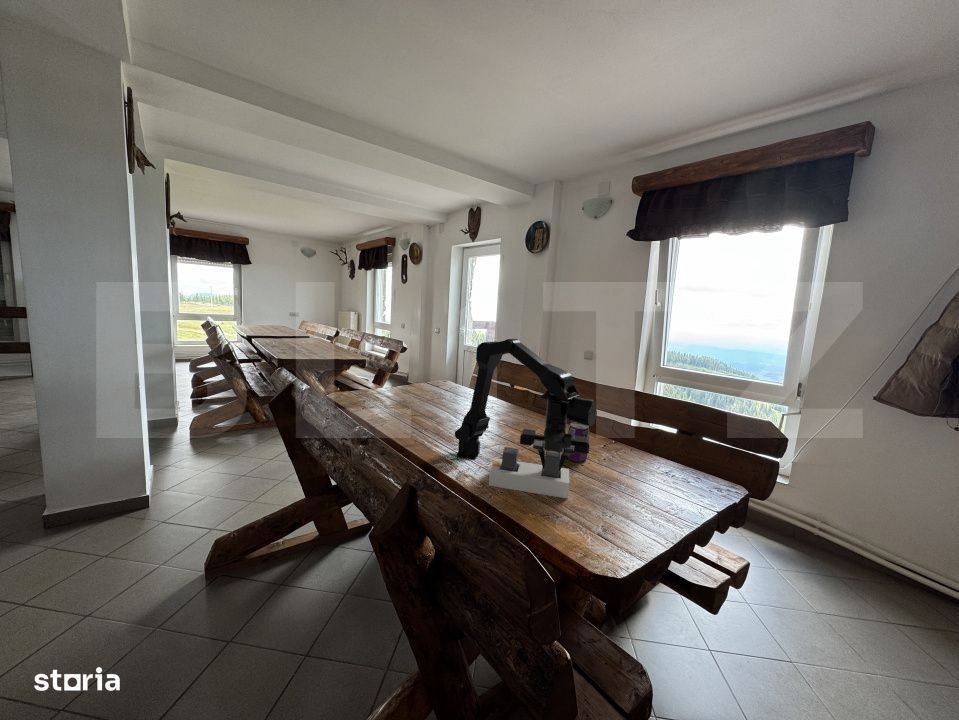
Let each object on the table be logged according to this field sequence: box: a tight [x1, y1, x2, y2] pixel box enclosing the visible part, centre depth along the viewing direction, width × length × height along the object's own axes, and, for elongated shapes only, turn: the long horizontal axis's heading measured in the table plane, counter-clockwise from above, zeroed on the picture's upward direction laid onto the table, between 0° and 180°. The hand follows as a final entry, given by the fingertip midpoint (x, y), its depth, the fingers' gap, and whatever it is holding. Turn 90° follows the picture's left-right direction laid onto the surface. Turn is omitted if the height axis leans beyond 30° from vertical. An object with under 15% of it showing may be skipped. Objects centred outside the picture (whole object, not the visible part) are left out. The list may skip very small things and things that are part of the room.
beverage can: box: [567, 422, 590, 463], centre depth 125 cm, size 7×7×12 cm
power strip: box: [488, 446, 570, 500], centre depth 105 cm, size 22×9×10 cm, turn 77°
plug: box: [544, 450, 561, 478], centre depth 104 cm, size 4×4×9 cm
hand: (551, 469), depth 104 cm, fingers closed on plug, 4 cm apart
